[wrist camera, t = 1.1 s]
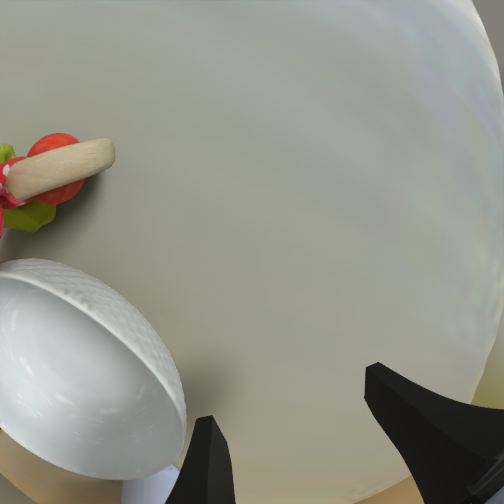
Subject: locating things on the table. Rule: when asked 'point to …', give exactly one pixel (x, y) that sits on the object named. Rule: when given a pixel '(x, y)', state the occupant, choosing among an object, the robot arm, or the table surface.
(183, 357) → the table surface
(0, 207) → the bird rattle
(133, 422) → the cereal bowl
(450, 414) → the robot arm
